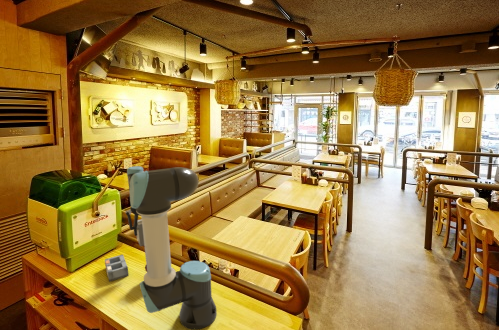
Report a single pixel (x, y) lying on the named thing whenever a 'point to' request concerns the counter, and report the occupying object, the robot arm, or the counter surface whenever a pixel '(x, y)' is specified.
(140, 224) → the plug
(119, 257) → the port box
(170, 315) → the counter surface
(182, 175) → the robot arm
